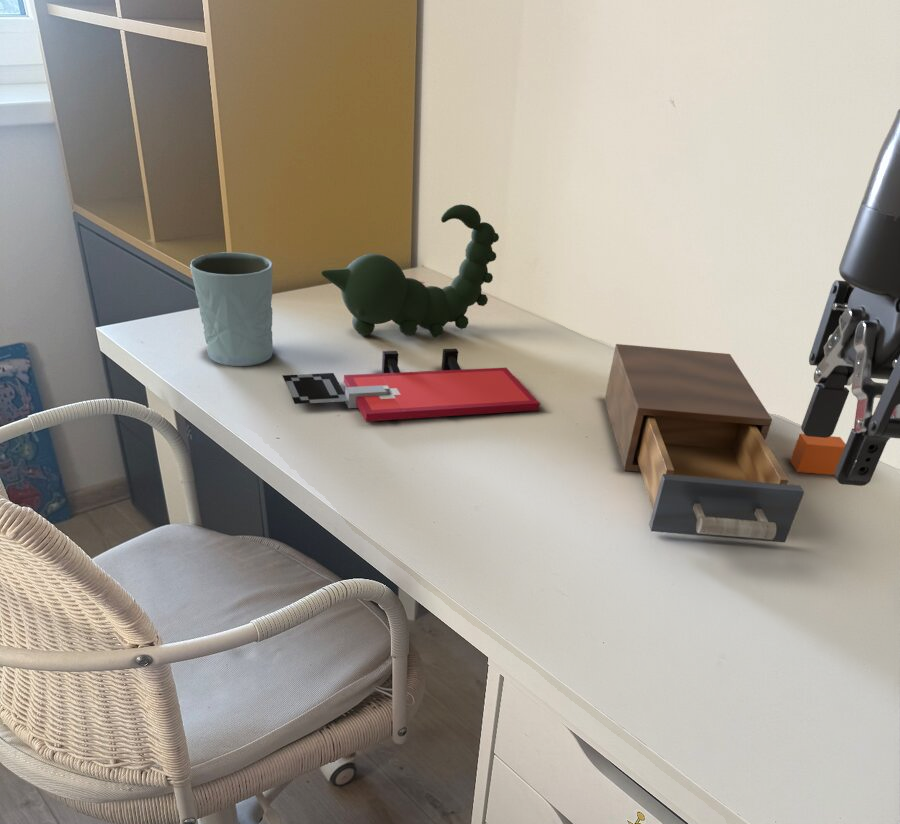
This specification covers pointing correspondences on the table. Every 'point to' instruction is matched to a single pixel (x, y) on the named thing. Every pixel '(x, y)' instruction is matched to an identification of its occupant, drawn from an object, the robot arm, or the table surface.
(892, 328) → the robot arm
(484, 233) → the toy figurine
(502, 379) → the red board with handle
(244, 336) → the pale green cup
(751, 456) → the drawer
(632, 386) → the cabinet
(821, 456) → the orange and grey block
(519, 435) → the table surface
